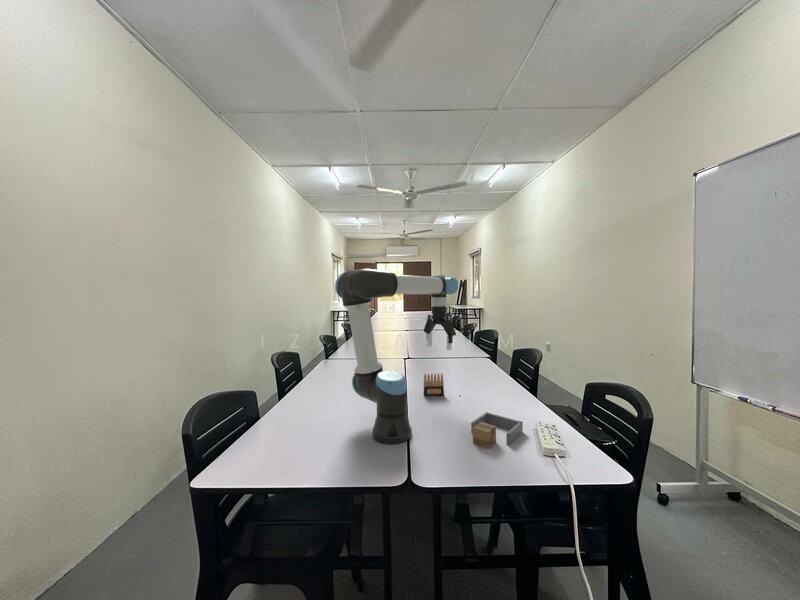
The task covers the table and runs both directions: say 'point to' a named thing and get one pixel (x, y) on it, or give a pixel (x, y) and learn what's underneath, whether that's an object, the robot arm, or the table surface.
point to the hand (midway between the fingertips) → (439, 347)
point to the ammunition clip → (432, 390)
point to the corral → (501, 425)
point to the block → (484, 435)
